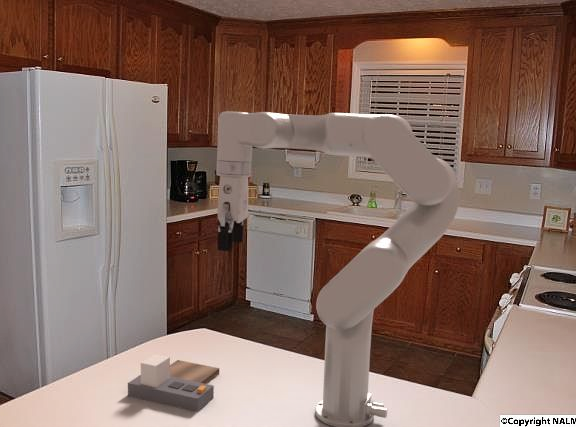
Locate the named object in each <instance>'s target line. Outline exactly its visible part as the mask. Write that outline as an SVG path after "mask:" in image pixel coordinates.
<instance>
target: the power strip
mask: <svg viewBox="0 0 576 427" xmlns="http://www.w3.org/2000/svg"><path fill="white" fill-rule="evenodd" d="M214 386H215V385H212V384H209V383H207V384H204V383H199V382H194V381H190V380H185V379H180V378H175V377H171V376H170V378H169V379H168V380H166V381H165V382H163V383H162V384H160V385H159V386H158V387H151V386H147V385H143V384H141V374H140V375H138V376H136V377H134V378H133V379H131V380H130V381H129V382H127V396H128V397H132V398H137V399H140V400H145V401H150V402H154V403H158V404H163V405H167V406H170V407H176V408H178V409H183V410H189V411H193V412H196V413H198V412H199V411H200V410H202V409H203V408H204V407H205V406H207V405H208V404H209V403H210V402H211V401H212V400H213V399H214V394H215V392H214V389H215V387H214Z"/></svg>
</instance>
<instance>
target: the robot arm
mask: <svg viewBox="0 0 576 427" xmlns="http://www.w3.org/2000/svg"><path fill="white" fill-rule="evenodd" d="M217 124H218V125H217V149H216V150H217V153H216V176H219V184H218V194H217V197H218V198H217V220H218V221H219V222H218V229H217V250H218V251H223V252H232V251H233V247H234V243H243V241H244V228H245V227H244V225H245V224H244V220H246V219H247V218H248V216H249V178H250V177H251V176H252V159H253V158H252V157H253V148H258V149H264V150H266V149H297V150H312V151H318V152H322V153H323V154H326V155H331V156H344V157H345V156H348V157H359V158H361V157H362V158H371V159H372V160H373V161H374V162H375V163H376V164H377V165H378V167H379V168H380V169H381V170H382V171H384V173H385V174H386V175H387V176H388V178H389V179H391V181H393V182H394V184H395V185H396V186H397V187H398V188H399V189H400V190H401V191H402V192H403V193H404V195H406V196H407V198H409V199H410V200H411V201H413V202H412V204H411V206H409V208H408V209H406V211H404V212H403V214H401V216H400V217H398V219H397V220H396V221H395V222H394V223H393V224H392V225H391V226H390V227H389V228H388V229H386V230H385V231H384V232H383V233H382V234H381V235H380V236H378V237H377V238H376V239H374V240H372V241H371V242H370V243H368V244H367V245H366V246H365V247H363V249H362V250H361V251H360V252H359V253H358V254H357V255H355V257H353V259H351V261H349V263H348V264H346V265H345V266H344V267H343V268H341V270H340V271H339V272H337V274H336V275H334V277H333V278H331V279H330V280H329V281H328V282H327V283H326V284H325V285H324V286H323V288H321V289H320V291H319V293H318V295H317V298H316V304H315V306H316V311H317V312H316V313H317V315H318V318H319V319H320V321H321V322H322V323H323V324H324V325H326V326H325V345H324V366H323V367H324V368H323V388H322V389H323V392H322V398H323V399H322V400H319V401H318V403H317V404H316V405H315V416H316V417H317V419H319V421H321V423H323V424H326V425H328V426H331V427H366V426H368V425H369V424H371V423H372V422H373V421H374V418H375V417H379V418H382V419H383V418H384V419H386V418H387V416H388V408H385V404H384V403H382V402H377V401H376V402H375V401H374V400H373V399H372V393H369V378H370V360H371V359H370V358H371V345H372V344H371V343H372V328H373V327H372V326H373V318H374V310H375V309H376V308H377V307H378V306H379V305H380V304H381V303H383V302H384V300H386V299H387V298H388V297H389V296H390V295H391V294H393V292H394V291H395V290H396V289H397V288H398V287H399V286H400V285H401V283H402V282H403V281H404V278H406V275H407V273H408V272H409V270H410V269H411V268H412V266H414V264H415V263H416V262H417V261H419V260H420V259H421V258H422V257H423V256H424V255H425V254H426V253H427V252H428V251H429V250H430V249H431V248H432V247H433V246H434V245H435V244H436V243H437V242H438V241H439V240H440V239H441V237H443V236H444V235H445V234H446V233H447V231H448V230H449V228H450V226H451V225H452V224H453V222H454V219H455V217H456V215H457V212H458V208H459V202H460V189H459V182H458V179H457V176H456V173H455V171H454V169H453V168H452V166H451V164H449V163H448V162H447V161H445V160H444V159H441V158H438V157H436V156H435V155H434V154H433V153H431V151H430V150H429V149H428V148H427V147H426V146H425V145H424V144H423V143H422V142H421V141H420V140H419V139H418V138H417V137H416V135H415V134H414V132H413V128H412V126H411V124H410V123H409V122H408V121H407V120H406V119H405V118H403V117H401V116H399V115H396V114H395V115H394V114H389V113H388V114H387V113H385V114H369V113H367V114H365V113H346V112H345V113H344V112H329V113H326V114H319V115H318V114H316V115H311V114H308V115H307V114H290V113H289V114H287V113H286V114H285V113H277V112H269V111H258V112H251V113H250V112H243V111H233V110H231V111H227V110H225V111H222V112H220V114H219V116H218V123H217Z"/></svg>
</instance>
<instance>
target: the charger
mask: <svg viewBox="0 0 576 427" xmlns="http://www.w3.org/2000/svg"><path fill="white" fill-rule="evenodd" d="M170 365H171V357H170V356H166V355H161V354H156V353H155V354H152V356H150V357H148V358H146V359H145V360H143V361H142V362H140V375H141V384H143V385H147V386H151V387H158V386H159V385H160V384H162V383H163V382H165V381H166V380H168V379H169V378H170Z"/></svg>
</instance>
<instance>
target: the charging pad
mask: <svg viewBox="0 0 576 427" xmlns="http://www.w3.org/2000/svg"><path fill="white" fill-rule="evenodd" d="M219 375H220V367H215V366H210V365H207V364H206V365H205V364H198V363H195V362H190V361H184V360H180V359H178V360H175V361H173V363H170V376H171V377H175V378H180V379H185V380H190V381H194V382H199V383H204V384H209V383H210V382H212V380H214V379H215V378H216V377H217V376H219Z"/></svg>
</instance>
